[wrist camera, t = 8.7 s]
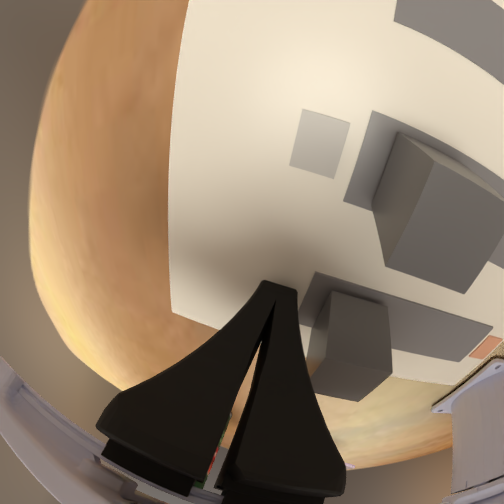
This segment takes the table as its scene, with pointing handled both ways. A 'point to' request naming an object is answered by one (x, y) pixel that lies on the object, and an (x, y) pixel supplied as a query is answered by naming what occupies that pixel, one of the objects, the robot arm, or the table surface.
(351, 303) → the gray short square block
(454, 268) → the gray rectangular block
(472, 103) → the switch panel
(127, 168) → the table surface
